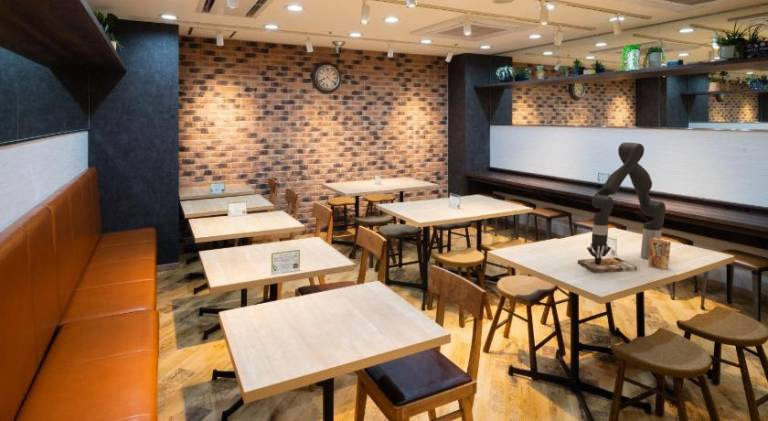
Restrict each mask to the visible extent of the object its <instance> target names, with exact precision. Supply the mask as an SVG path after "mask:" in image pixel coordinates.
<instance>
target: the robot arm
mask: <svg viewBox="0 0 768 421" xmlns="http://www.w3.org/2000/svg"><path fill="white" fill-rule="evenodd" d="M617 151H618V152H617V153H618V156H619V159H620V161H621V162H622V165H621V166H620V167H619V168H618V169H616V170H615V171H614V172H612V173H611V174H610V175H609V176H608V177H607V179H606V181H605V183H604V185H603V186H602V187H601V188H600V189H599V190H598V191H597V192H596V193H595V194H594V195H593V196H592V199H591V205H592V207H593V208H595V209H601V210H600V212H596V213H594V216H593V224H592V231H591V232H592V234H591V235H592V236H591V244H590V246H588V247H586V249H587V251H588V252H589V254H590V256H591V257H594V259H595V264H597V265H599V264H600V263H601V259H602V258H604V257H606V256H607V254H608V253H609V252H610V251H611V249H612V248H611V247H610V246H608V243H607V242H608V235H609V218H610V215H611V213H612V210H613V207H614V199H613V198H612V197H611V196H612V195H613V196H614V195H616V193H617V192H618V191H619V189H620V187H621V185H622V183H623V182H624V180H625V179H626V178H627V176H629V178H630V182H631V184H632V186H633V188H634V190H635V192H636V193H635V194H636V195H637V199H638V203H639V206H640V209H641V212H642V214H643V215H645V216H647V217H651V218H653V219H652V220H651V221H648V222H647V221H646V222H644V223H643V228H642V239H641V247H640V248H641V250H640V258H642V259H645V260H649V253H650V241H651V239H652V238H658V239H662V229H663V226H664V221H665V214H666V209H667V208H666V203H664V201H659V200H652V199H651V198H650V195H649V194H650V191H651V190H652V187H653V181H652V179H651V176H650V174H649V172H648V171H647V170H646V169H645V168H644V167H643V166H642V165H641V164H639V162H640V160H642V157H643V156H644V153H645V147H644V145H643V144H642V143H639V142H638V143H636V142H625V141H624V142H622V143H620V144H619V146H618V150H617Z"/></svg>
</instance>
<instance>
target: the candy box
mask: <svg viewBox="0 0 768 421" xmlns="http://www.w3.org/2000/svg"><path fill="white" fill-rule="evenodd" d="M671 242H672V241H671V240H667V239H662V238H661V239H658V238H652V239H651V241H650V253H649V259H648V264H647V266H649V267H653V268H657V269H661V270H667V269H669V265H670V264H669V263H670V252H671Z"/></svg>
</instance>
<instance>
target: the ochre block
mask: <svg viewBox="0 0 768 421" xmlns="http://www.w3.org/2000/svg"><path fill="white" fill-rule="evenodd" d="M602 258H603V259H602ZM602 258H601V259H602V260H601V264H602V265H618V262H619V261H617V260H615V259H613V258H614V257H607V258H606V257H602Z"/></svg>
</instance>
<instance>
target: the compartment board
mask: <svg viewBox="0 0 768 421" xmlns="http://www.w3.org/2000/svg"><path fill="white" fill-rule="evenodd" d="M603 258H604V257H602V258H601V260H602V259H603ZM612 258H613V259H615V260H617V261H619V262H618V265H602V264H601V263H600V264H599V265H597V264H595V258H588V259H577V264H578V265H580V266H581V267H583V268H585V269H587V270H588V271H590V272H592V273H594V274H598V273H599V274H600V273H615V272H617V273H618V272H632V271H633V272H635V271H637V270H638V266H636V265H634V264H632V263H630V262H629V261H626V260H625V259H621V258H619V257H612Z"/></svg>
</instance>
